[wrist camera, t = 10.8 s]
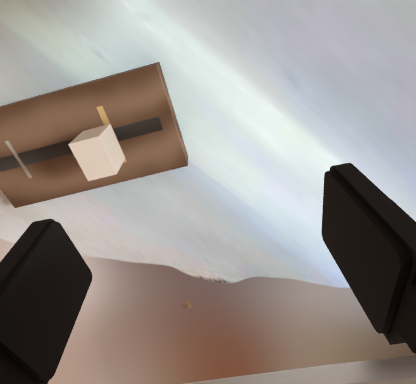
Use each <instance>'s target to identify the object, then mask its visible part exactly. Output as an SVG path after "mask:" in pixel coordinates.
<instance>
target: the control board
mask: <svg viewBox="0 0 416 384" xmlns="http://www.w3.org/2000/svg"><path fill="white" fill-rule="evenodd" d="M108 124H111V126H112V129H113V131H114V133H115V135H116V137H117V140H118V142H119V145H120V147H121V149H122V152H123V154H124V156H125V160H124V162H123V163H122V165H121V167H120V169H119V171H118V173H117V174H116V175H112V176H108V177H104V178H100V179H96V180H92V181H88V180H87V178H86V176H85V175H84V173H83V171H82V169H81V167H80V165H79V163H78V162H77V160H76V158H75V156H74V154H73V152H72V151H71V149H70V147H69V145H68V144H69V143H70V142H71V141H73V140H74V139H75V138H76V137H77V136H78V135H79V134H80V133H82V132H83V131H85V130H89V129H93V128H96V127H100V126H104V125H108ZM185 166H188V155H187V152H186V148H185V145H184V142H183V138H182V135H181V132H180V129H179V125H178V122H177V119H176V115H175V112H174V109H173V106H172V102H171V99H170V96H169V93H168V89H167V86H166V83H165V79H164V76H163V73H162V70H161V66H160V63H159V62H157V63H154V64H150V65H147V66H143V67H139V68H136V69H132V70H129V71H125V72H122V73H118V74H114V75H111V76H107V77H104V78H100V79H96V80H93V81H89V82H86V83H82V84H79V85H75V86H71V87H68V88H64V89H61V90H57V91H54V92H50V93H46V94H43V95H39V96H36V97H32V98H28V99H25V100H21V101H18V102H14V103H11V104H7V105H3V106H0V189H1V190H2V191H3V193H4V194H5V195H6V197H7V198H8V199H9V201H10V202H11V203H12V205H13V206H14V207H15V208H17V207H21V206H25V205H29V204H33V203H38V202H42V201H46V200H50V199H54V198H58V197H62V196H66V195H70V194H74V193H78V192H82V191H87V190H91V189H95V188H99V187H103V186H107V185H111V184H115V183H119V182H123V181H127V180H131V179H136V178H140V177H144V176H148V175H152V174H156V173H160V172H164V171H168V170H172V169H176V168H180V167H185Z"/></svg>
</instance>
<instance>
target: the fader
mask: <svg viewBox="0 0 416 384" xmlns="http://www.w3.org/2000/svg"><path fill="white" fill-rule="evenodd" d="M68 145H69V147H70V149H71V151H72V152H73V154H74V156H75V158H76V160H77V162H78V163H79V165H80V167H81V169H82V171H83V173H84V175H85V176H86V178H87V180H88V181H92V180H96V179H100V178H104V177H108V176H112V175H116V174H117V173H118V171H119V169H120V167H121V165H122V163H123V162H124V160H125V156H124V154H123V152H122V149H121V147H120V145H119V142H118V140H117V137H116V135H115V133H114V131H113V129H112V126H111V124H108V125H104V126H100V127H96V128H93V129H89V130H85V131H83V132H82V133H80V134H79V135H78V136H77V137H76V138H75V139H74V140H73V141H71V142H70V143H69V144H68Z"/></svg>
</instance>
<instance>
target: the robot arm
mask: <svg viewBox="0 0 416 384" xmlns="http://www.w3.org/2000/svg"><path fill="white" fill-rule="evenodd" d="M322 237H323V240H324V242H325V244H326V246H327V248H328V249H329V251H330V253H331V255H332V256H333V258H334V260H335V261H336V263H337V265H338V267H339V268H340V270H341V272H342V274H343V275H344V277H345V279H346V280H347V282H348V284H349V286H350V287H351V289H352V291H353V293H354V294H355V296H356V298H357V300H358V301H359V303H360V305H361V306H362V308H363V310H364V312H365V313H366V315H367V317H368V319H369V320H370V322H371V324H372V325H373V327H374V329H375V330H376V331H377V332H378V333H383V334H384V335H385V337H386V339H387V340H388V342H389V344H390V345H392V344H399V343H407V344H408V346H409V348H410V349H411V351H412V352H414V353H415V356H409V357H396V358H387V359H378V360H370V361H360V362H351V363H342V364H333V365H324V366H316V367H309V368H301V369H293V370H286V371H278V372H270V373H263V374H255V375H247V376H239V377H231V378H224V379H216V380H209V381H201V382H194V383H186V384H416V222H415V221H414V220H413V219H412V218H411V217H410V216H409V215H408V214H407V213H405V212H404V211H403V210H402V209H401V208H400V207H399V206H398V205H397V204H396V203H395V202H393V201H392V200H391V199H390V198H388V197H387V196H386V195H385V194H384V193H383V192H382V191H381V190H380V189H379V188H378V187H377V186H375V185H374V184H373V183H372V182H371V181H370V180H369V179H368V178H367V177H366V176H365V175H364V174H362V173H361V172H360V171H359V170H358V169H357V168H356V167H355V166H354V165H353V164H351V163H346V164H341V165H335V166H332V167H331V168H330V171H327V172H325V176H324V196H323V216H322ZM91 281H92V273H91V271H90V269H89V267H88V266H87V264H86V263H85V261H84V260H83V258H82V257H81V255H80V253H79V252H78V250H77V249H76V247H75V246H74V244H73V243H72V241H71V240H70V238H69V236H68V235H67V233H66V232H65V230H64V229H63V227H62V226H61V224H60V223H59V222H55V221H54V220H53V219H46V220H41V221H36V222H33V223H32V224H31V225H30V226H29V227H28V229H27V230H26V231H25V232H24V233H23V235H22V236H21V237H20V238H19V240H18V241H17V242H16V243H15V245H14V246H13V247H12V248H11V250H10V251H9V252H8V253H7V255H6V256H5V257H4V258H3V260H2V261H1V262H0V384H47V383H48V381H49V380H50V379H51V378H52V377H53V376H54V374H55V372H56V369H57V367H58V364H59V362H60V359H61V356H62V354H63V352H64V349H65V346H66V344H67V342H68V339H69V337H70V334H71V332H72V329H73V326H74V324H75V321H76V319H77V316H78V314H79V311H80V309H81V306H82V303H83V301H84V299H85V296H86V294H87V291H88V289H89V286H90V284H91Z"/></svg>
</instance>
